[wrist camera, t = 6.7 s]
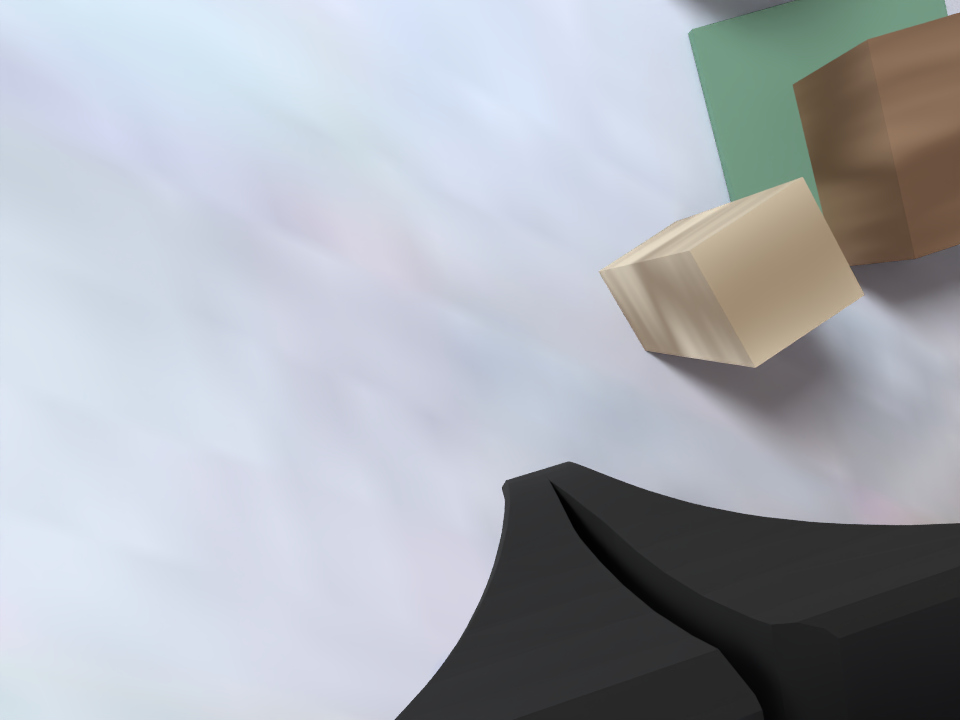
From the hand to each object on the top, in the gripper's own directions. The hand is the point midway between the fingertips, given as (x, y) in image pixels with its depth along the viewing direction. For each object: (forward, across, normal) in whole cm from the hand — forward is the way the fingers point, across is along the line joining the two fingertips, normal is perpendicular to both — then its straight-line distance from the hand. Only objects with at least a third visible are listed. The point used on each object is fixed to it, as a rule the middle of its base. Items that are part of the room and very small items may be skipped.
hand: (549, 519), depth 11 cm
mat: (+11, -16, -6) cm, 21 cm away
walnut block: (+9, -16, -1) cm, 19 cm away
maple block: (+11, -8, -2) cm, 13 cm away
